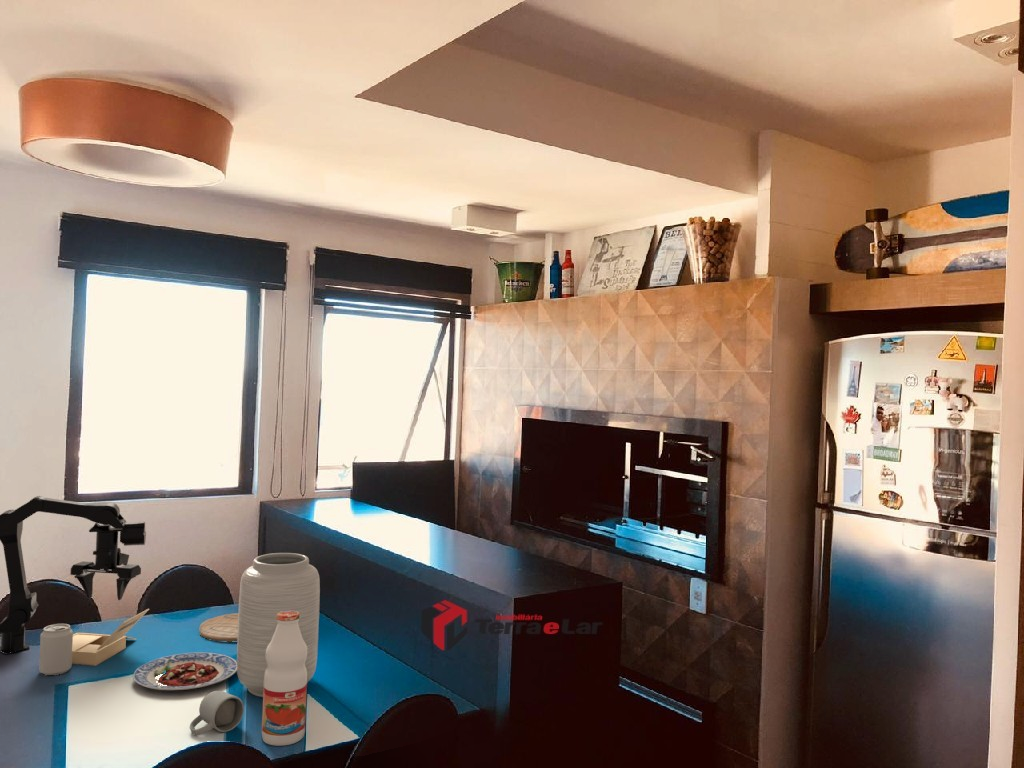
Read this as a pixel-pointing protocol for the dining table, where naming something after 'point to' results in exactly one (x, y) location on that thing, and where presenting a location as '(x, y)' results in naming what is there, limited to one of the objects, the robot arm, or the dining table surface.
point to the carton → (94, 648)
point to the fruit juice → (285, 683)
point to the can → (56, 649)
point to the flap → (123, 629)
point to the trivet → (220, 628)
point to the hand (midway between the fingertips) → (104, 598)
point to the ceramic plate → (185, 671)
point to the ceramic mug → (218, 712)
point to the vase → (275, 612)
